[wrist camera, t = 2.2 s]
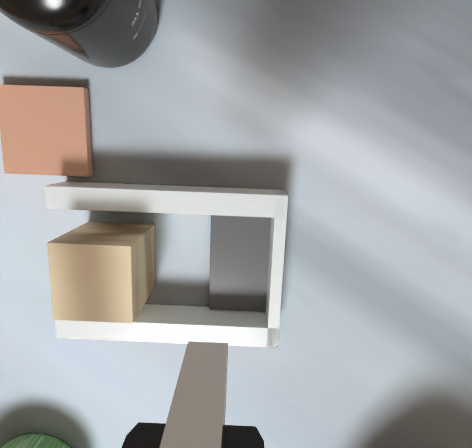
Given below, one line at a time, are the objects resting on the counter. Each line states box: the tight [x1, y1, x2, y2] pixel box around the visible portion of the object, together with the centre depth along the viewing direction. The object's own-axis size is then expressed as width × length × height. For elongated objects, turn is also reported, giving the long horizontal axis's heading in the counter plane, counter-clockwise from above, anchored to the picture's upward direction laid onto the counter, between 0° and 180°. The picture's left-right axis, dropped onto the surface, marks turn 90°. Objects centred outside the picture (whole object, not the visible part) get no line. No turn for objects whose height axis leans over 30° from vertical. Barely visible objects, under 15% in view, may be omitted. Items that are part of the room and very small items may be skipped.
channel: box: [44, 181, 288, 348], centre depth 26 cm, size 16×11×3 cm
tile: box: [0, 84, 93, 177], centre depth 26 cm, size 6×6×1 cm
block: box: [47, 222, 155, 323], centre depth 25 cm, size 5×5×6 cm
